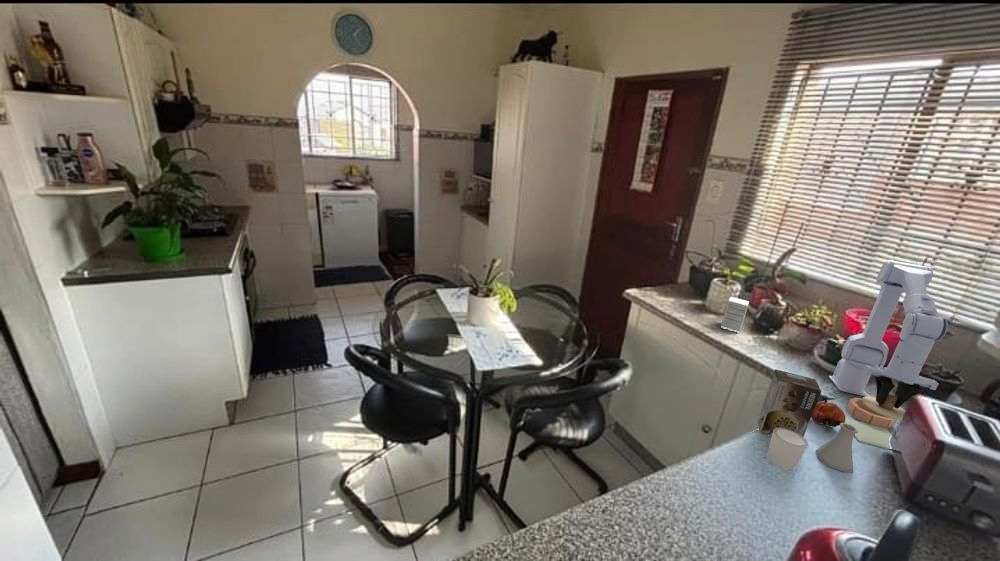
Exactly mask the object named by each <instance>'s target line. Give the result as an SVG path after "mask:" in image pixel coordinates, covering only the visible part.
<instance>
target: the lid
mask: <svg viewBox="0 0 1000 561" xmlns="http://www.w3.org/2000/svg"><path fill="white" fill-rule="evenodd" d="M897 399H898V396H897V395H895V393H894V392H892V391H890V393H889V394H888V396H887V398H886V400H885V402H884V404H883V405H880V404H878V403H877V401H876V396H870V395H869V396H862V403H863V404H864V405H865V406H866V407H867V408H869V409H871V410H872V411H874V412H876V413H878V414H880V415H883V416H885V417H888V418H891V419H895V420H896V421H903V420H902V419H903V415H904V413H905V411H906V409H904V408H903V407H901V406H900V407H899V408H898V409H897V408H894V405H895V403H896V401H897Z"/></svg>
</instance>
